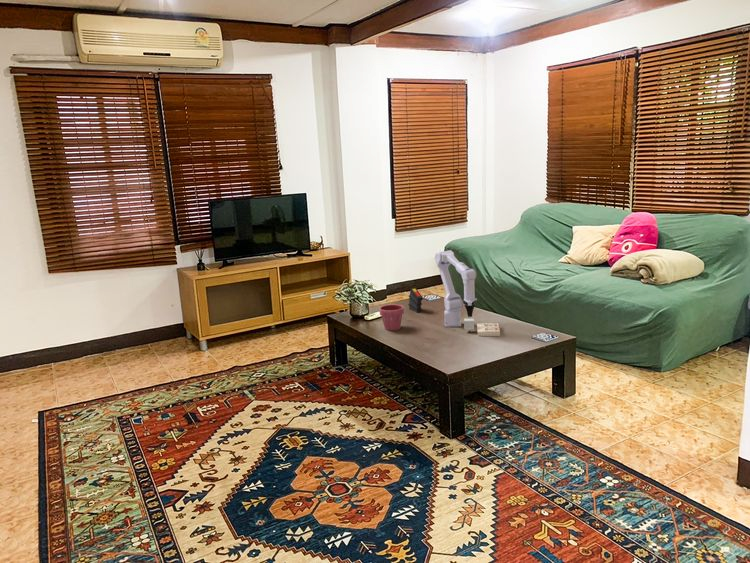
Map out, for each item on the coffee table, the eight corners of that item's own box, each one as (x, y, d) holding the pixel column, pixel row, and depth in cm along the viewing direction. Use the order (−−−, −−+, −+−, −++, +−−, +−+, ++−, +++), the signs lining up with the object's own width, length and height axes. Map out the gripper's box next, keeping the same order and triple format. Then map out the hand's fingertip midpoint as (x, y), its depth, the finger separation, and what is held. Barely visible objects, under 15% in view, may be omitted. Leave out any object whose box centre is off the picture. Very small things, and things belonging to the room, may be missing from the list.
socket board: (477, 335, 312) (477, 330, 311) (477, 327, 326) (476, 322, 326) (499, 335, 310) (499, 330, 309) (498, 327, 324) (498, 322, 324)
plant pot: (384, 324, 342) (383, 303, 339) (406, 324, 338) (405, 304, 335) (377, 331, 329) (376, 310, 326) (401, 332, 325) (400, 311, 322)
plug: (464, 332, 318) (464, 320, 316) (464, 330, 322) (464, 318, 321) (474, 332, 317) (474, 320, 316) (474, 330, 321) (473, 318, 320)
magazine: (411, 304, 375) (415, 286, 367) (420, 317, 366) (424, 299, 357) (406, 305, 374) (410, 287, 365) (415, 318, 365) (419, 299, 356)
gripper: (477, 294, 307) (477, 318, 310) (476, 287, 321) (476, 310, 324) (463, 294, 308) (464, 318, 311) (463, 288, 322) (464, 311, 325)
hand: (469, 314), depth 318 cm, fingers open, 7 cm apart
